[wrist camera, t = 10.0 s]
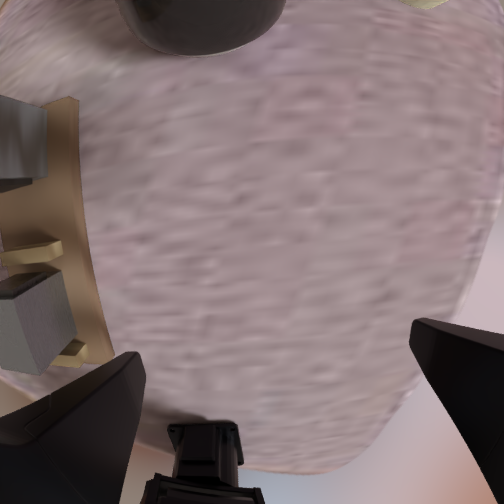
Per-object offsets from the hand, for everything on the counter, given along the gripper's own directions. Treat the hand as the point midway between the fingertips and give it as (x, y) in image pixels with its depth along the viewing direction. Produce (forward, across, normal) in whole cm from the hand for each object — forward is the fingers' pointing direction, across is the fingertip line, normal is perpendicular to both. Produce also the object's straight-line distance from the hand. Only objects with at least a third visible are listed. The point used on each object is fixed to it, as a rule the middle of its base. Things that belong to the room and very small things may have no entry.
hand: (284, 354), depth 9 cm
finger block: (+10, +16, +2) cm, 19 cm away
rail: (+12, +16, -3) cm, 20 cm away
